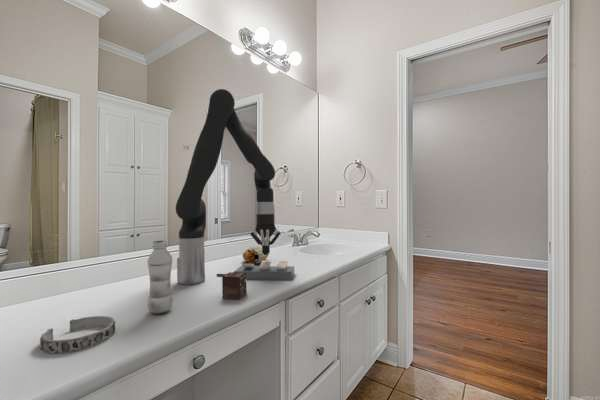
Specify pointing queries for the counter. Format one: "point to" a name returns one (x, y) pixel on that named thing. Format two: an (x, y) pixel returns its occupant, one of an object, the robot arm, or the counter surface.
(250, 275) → the power strip
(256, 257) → the nautilus
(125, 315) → the counter surface
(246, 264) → the rocker left
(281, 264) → the rocker right
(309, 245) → the counter surface
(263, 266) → the rocker middle
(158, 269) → the plastic bottle
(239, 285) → the box
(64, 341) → the bracelet
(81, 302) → the counter surface
